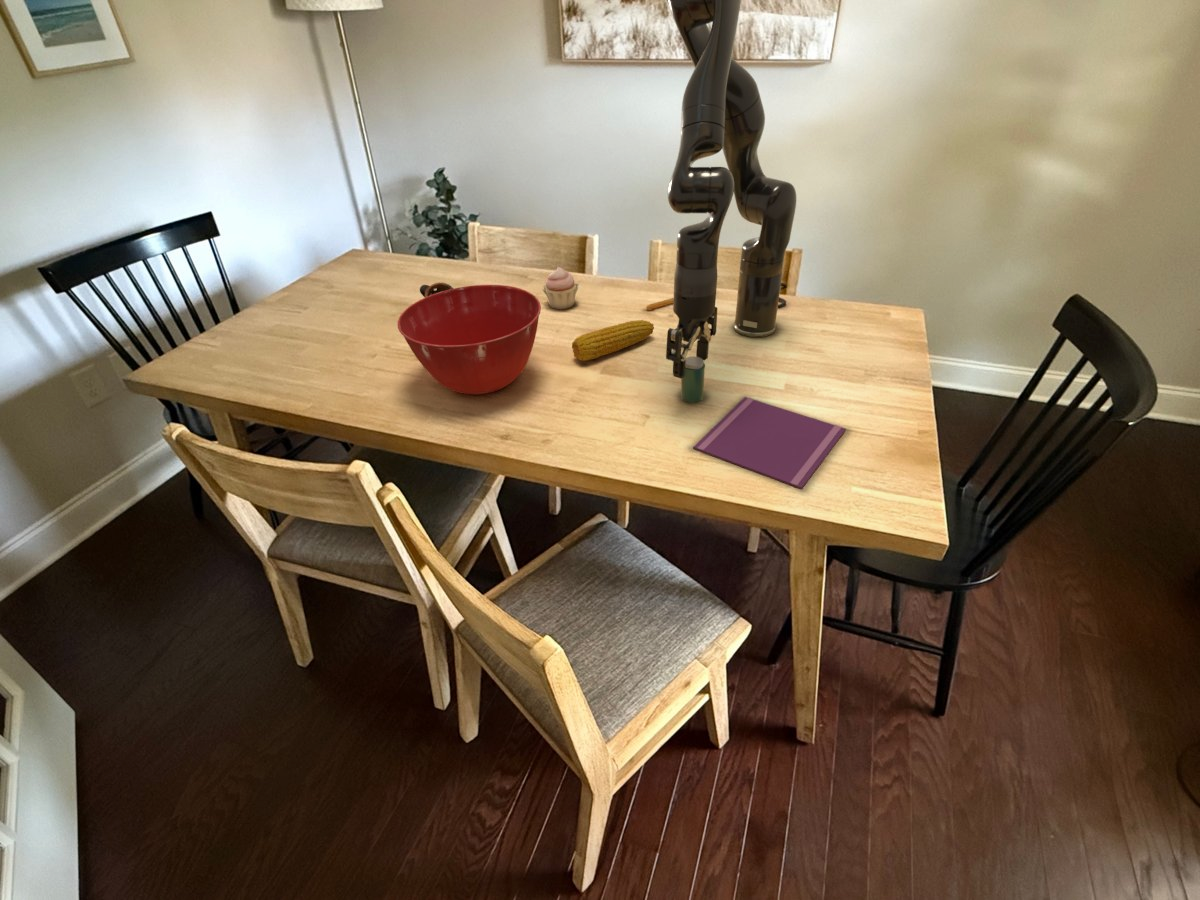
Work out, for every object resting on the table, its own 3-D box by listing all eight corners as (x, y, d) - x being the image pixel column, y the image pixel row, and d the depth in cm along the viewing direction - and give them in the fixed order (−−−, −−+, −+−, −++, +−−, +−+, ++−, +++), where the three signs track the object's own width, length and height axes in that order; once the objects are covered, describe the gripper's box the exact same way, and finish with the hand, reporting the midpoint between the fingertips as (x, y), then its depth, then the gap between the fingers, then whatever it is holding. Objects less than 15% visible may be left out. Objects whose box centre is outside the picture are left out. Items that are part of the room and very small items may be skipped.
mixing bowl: (428, 429, 121) (411, 357, 112) (403, 365, 143) (386, 300, 133) (567, 393, 130) (561, 323, 121) (523, 337, 151) (515, 274, 142)
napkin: (744, 398, 126) (744, 396, 125) (845, 430, 115) (846, 428, 115) (693, 448, 113) (693, 446, 113) (801, 489, 103) (801, 487, 103)
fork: (649, 306, 159) (713, 286, 166) (645, 302, 160) (709, 282, 167) (648, 314, 161) (712, 294, 168) (644, 310, 162) (707, 290, 169)
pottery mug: (470, 305, 169) (463, 286, 161) (451, 332, 166) (443, 314, 158) (432, 288, 171) (424, 268, 164) (412, 315, 168) (403, 296, 160)
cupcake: (562, 294, 171) (559, 257, 165) (587, 303, 166) (584, 265, 160) (536, 305, 166) (532, 268, 160) (560, 315, 160) (557, 276, 155)
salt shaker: (687, 388, 129) (689, 353, 125) (707, 395, 127) (709, 359, 122) (676, 398, 127) (677, 362, 122) (695, 404, 124) (698, 368, 120)
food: (583, 368, 138) (582, 343, 134) (569, 359, 142) (567, 334, 138) (658, 339, 148) (659, 315, 144) (643, 331, 151) (643, 307, 148)
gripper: (697, 270, 120) (692, 348, 130) (655, 295, 111) (653, 377, 121) (733, 278, 116) (725, 358, 126) (692, 305, 107) (687, 389, 117)
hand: (690, 367), depth 123 cm, fingers open, 8 cm apart
